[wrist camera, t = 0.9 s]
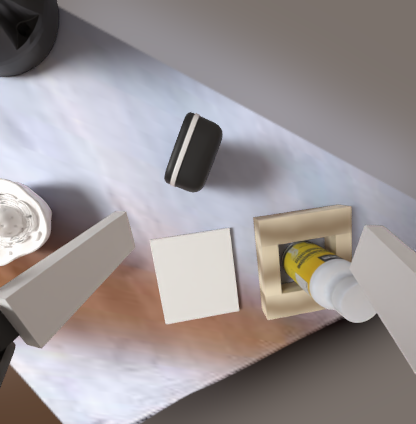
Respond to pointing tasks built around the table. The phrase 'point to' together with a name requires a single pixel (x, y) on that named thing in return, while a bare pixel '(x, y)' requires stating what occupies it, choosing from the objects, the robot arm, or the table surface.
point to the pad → (195, 275)
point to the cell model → (21, 221)
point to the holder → (292, 232)
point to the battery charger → (193, 153)
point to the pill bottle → (327, 280)
